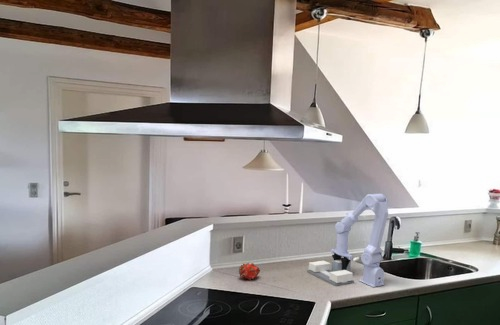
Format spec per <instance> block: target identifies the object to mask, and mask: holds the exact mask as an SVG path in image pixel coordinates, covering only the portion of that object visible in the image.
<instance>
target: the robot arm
mask: <svg viewBox="0 0 500 325" xmlns="http://www.w3.org/2000/svg"><path fill="white" fill-rule="evenodd" d="M368 208H369V209H370V210H371V211H372V212H373V213H374V215H375V217H374V220H373V223H372V229H371V233H370V237H369V241H368V245H367V246H366V247H365V248H364V251H363V252H362V254H361V255H360V260H361V263H362V265H363V272H362V273H363V274H362V275H363V276H362V278H361V279H359V280H358V281H359V282H361V283H363V284H364V285H366V286H367V285H368V286H370V287H372V288H375V287H382V286H385V271H384V269H383V268H382V267H380V263H381V262H382V260H383V249H382V248H381V245H382V241H383V237H384V232H385V228H386V224H387V220H388V217H389V209H388V198H387V197H386V195H385V194H383V193H372V194H371V193H368V194H366V195H365V197H363V198H362V200H361V202H360V203H359V204H358V205H357V206H356V208H354V210H353V211H350V212H347V213H346V215H345V217H344V218H341V221H337V222H336V224H335V225H334V229H335V232H336V247H335V248H331V249H330V252H331V253H332V254H331V257H332V259H333V260H341V262H342V270H346V269H347V266H348V264H349V262H350V261H351V262H352V260H353V258H354V256H353V255H352V254H351V253H349V252H348V246H349V235H350V234H349V233H350V232H351V229H352V227H353V226H354V225H355V224H356V223H357V222H358V221H359V217H360V215H362V214H363V213H364V212H365V211H366V210H367V209H368Z"/></svg>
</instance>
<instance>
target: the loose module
mask: <svg viewBox="0 0 500 325" xmlns="http://www.w3.org/2000/svg"><path fill="white" fill-rule="evenodd" d="M351 262H352V260H351V261H350V262H349V264H348V266H347V269H346V270H347V271H349V272H351V264H352V263H351ZM331 270H332V271H341V270H342V262H341V260H334V259H333V260H331Z"/></svg>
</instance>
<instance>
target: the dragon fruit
mask: <svg viewBox="0 0 500 325" xmlns="http://www.w3.org/2000/svg"><path fill="white" fill-rule="evenodd" d="M260 272H261V269H260V268H259V267H258V266H257V265H255V264H254V263H253V262H252V263H250V262H247V263H242V264H241V265H240V267H239V268H238V274H239V277H240V278H243V279H244V280H246V279H247V280H249V281H251V279H252V280H255V279H257V276H259V274H260Z"/></svg>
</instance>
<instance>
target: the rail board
mask: <svg viewBox="0 0 500 325" xmlns="http://www.w3.org/2000/svg"><path fill="white" fill-rule="evenodd" d="M331 267H332V262H331V263H330V262H328V261H326V260H317V261H312V262H311V261H310V262H308V269H307V270H306V273H309V274H311V275H312V276H314V277H316V278H318V279H320V280H322V281H324V282H326V283H328V284H329V285H332V286H334V287H339V286H344V285H349V284H354V283H355V280H353V277H354V272H351V271H350V272H349V271H347V270H341V271H332V269H331Z"/></svg>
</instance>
